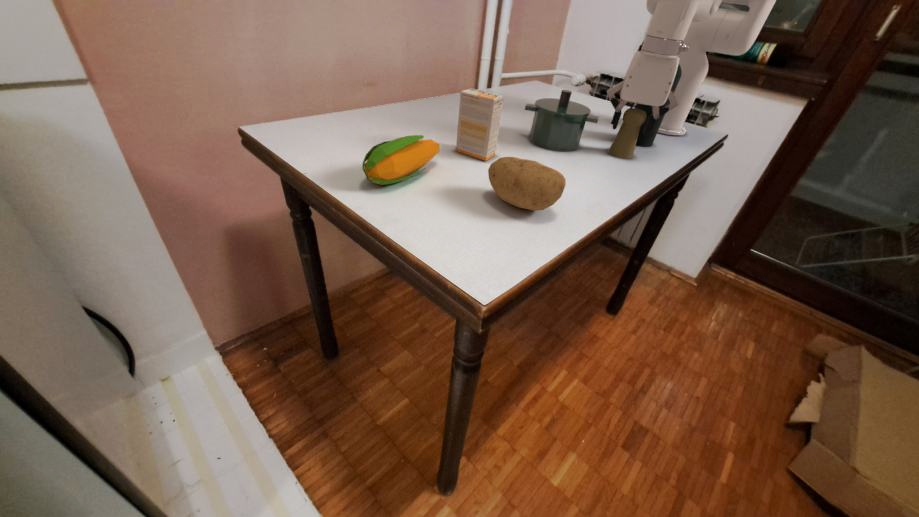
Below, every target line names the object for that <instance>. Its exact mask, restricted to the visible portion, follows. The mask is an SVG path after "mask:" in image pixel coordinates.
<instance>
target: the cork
mask: <svg viewBox="0 0 919 517" xmlns="http://www.w3.org/2000/svg"><path fill="white" fill-rule="evenodd" d="M646 117H647V115H646V112H645V111H643V110H641V109H637V108H635V107H632V108H630V107H629V108H626V110H625V111H624V113H623V114H622V118H623V119H622V123H621V125H620V127H619V129H618V132H617V133H616V135H615V137H614V140H613V141H612V143H611V145H610V147H609V149H608V154H609V155H610V156H613V157H615V158H619V159H622V160H623V159H624V160H630V159H632V158H634V154H635V150H636V146H637V145H636V142H637V138H638V134H639V130H640V127H641V125H642V124H643V123H644V122H645V120H646Z"/></svg>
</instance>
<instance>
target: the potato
mask: <svg viewBox="0 0 919 517" xmlns="http://www.w3.org/2000/svg"><path fill="white" fill-rule="evenodd" d="M487 172H488V180H489V183H490V186H491V187H492V189H493V192H494V193H495V195H496V196H497V197H498V199H499V198H500V200H503V201H504V202H506V203H508V204H509V205H511V206H514V207H517V208H519V209H525V210H530V211H531V210H532V211H543V210H546V209H547V208H550V207H551V206H554V204H556V202H557V201H559V200H560V198H562V196H563V193H564V190H565V188H566V186H567V184H566V182H567V181H566V178H565V176H564V175H563V174H562V173H561V172H560V171H558V169H557V170H556V169H555V168H552V167H550V166H547V165H544V164H543V163H540V162H539V161H536V160H530V159H526V158H525V159H524V158H519V157H516V156H503V157H499V158H498V159H496V160H495V161H493V162H492V163H490V165H489V168H488V169H487Z"/></svg>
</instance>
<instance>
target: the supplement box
mask: <svg viewBox="0 0 919 517" xmlns="http://www.w3.org/2000/svg"><path fill="white" fill-rule="evenodd" d="M459 96H460V97H459V108H458V120H457V132H456V146H455V152H457V153H461V154H464V155H467V156H470V157H473V158H476V159H479V160H482V161H485V162H486V161H487V160H488V161H489V160H490V159H491V158H493V157H495V156H496V151H497V146H498V139H499V138H498V137H499V131H500V124H501V119H502V118H501V117H502V111H503V105H504V97H505V96H504V95H502V94H497V93H493V92H489V91H484V90H481V89H476V88H473V87H471V88H468V89H464V90H461V91H460V95H459Z"/></svg>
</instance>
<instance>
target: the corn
mask: <svg viewBox="0 0 919 517" xmlns="http://www.w3.org/2000/svg"><path fill="white" fill-rule="evenodd" d="M424 138H425V136H424V135H423V134H418V135H417V134H416V135H415V134H414V135H405V136H401V137H399V138H395V139H392V140H388V141H383V142H381V143H378V144H375V145H373V146H372V147H371V148H370V149H369V150H368V151H367V153H366V154H365V156H364V158H363V161H362V165H361V167H362V170H363V173H364V175H365V178H366V179H367V181H370V182H372V183H373V184H376V185H380V186H384V185H392V184H396V183H401V182H404V181H405V180H408V179H410V178H413V177H414V176H416V175H418V174H419V173H421V172H423V171H424V170H426V169H427V167H424V166H426V165H427V164H428V163H429V162H430V161H431V160H432V159H433V158H434V157H435V156H436V155H437V154H438V153H439V152H440V150H441V148H440V143H438V142H437V141H435V140H433V139H424ZM423 167H424V168H423ZM421 168H423V169H421Z"/></svg>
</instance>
